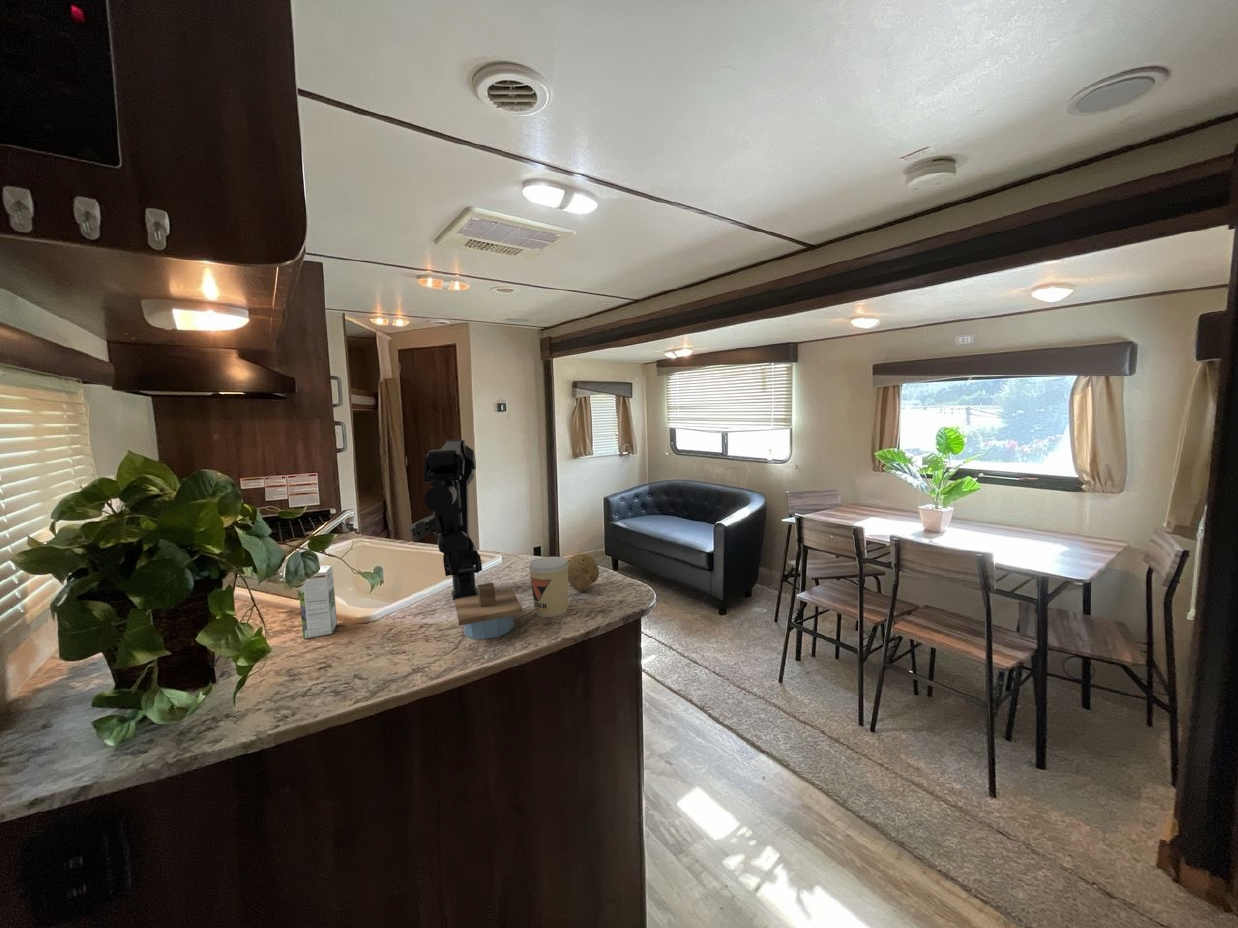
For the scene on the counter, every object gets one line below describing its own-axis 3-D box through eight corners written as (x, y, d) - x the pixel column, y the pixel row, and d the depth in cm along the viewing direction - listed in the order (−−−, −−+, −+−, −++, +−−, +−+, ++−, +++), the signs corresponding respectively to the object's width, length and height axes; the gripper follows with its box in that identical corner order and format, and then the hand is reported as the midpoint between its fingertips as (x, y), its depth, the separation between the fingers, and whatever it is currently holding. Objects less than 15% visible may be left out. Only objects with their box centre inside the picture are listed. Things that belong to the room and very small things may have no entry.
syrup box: (309, 629, 110) (302, 568, 109) (338, 624, 112) (332, 564, 111) (302, 639, 105) (295, 575, 104) (333, 634, 107) (326, 571, 106)
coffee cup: (524, 611, 115) (521, 562, 114) (556, 600, 121) (553, 553, 120) (545, 622, 108) (542, 570, 107) (578, 609, 114) (576, 561, 113)
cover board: (454, 604, 110) (453, 582, 109) (512, 593, 115) (510, 572, 114) (459, 625, 98) (457, 601, 97) (522, 613, 103) (521, 589, 102)
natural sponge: (585, 582, 134) (583, 547, 133) (607, 589, 127) (605, 553, 126) (559, 591, 128) (557, 554, 127) (580, 599, 121) (578, 561, 120)
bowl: (462, 624, 109) (461, 605, 109) (508, 615, 113) (507, 596, 113) (467, 643, 100) (465, 622, 99) (517, 632, 104) (515, 612, 103)
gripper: (409, 501, 116) (414, 564, 117) (410, 515, 99) (417, 588, 101) (457, 496, 120) (462, 556, 122) (466, 509, 103) (472, 578, 105)
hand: (453, 569), depth 112 cm, fingers open, 9 cm apart
